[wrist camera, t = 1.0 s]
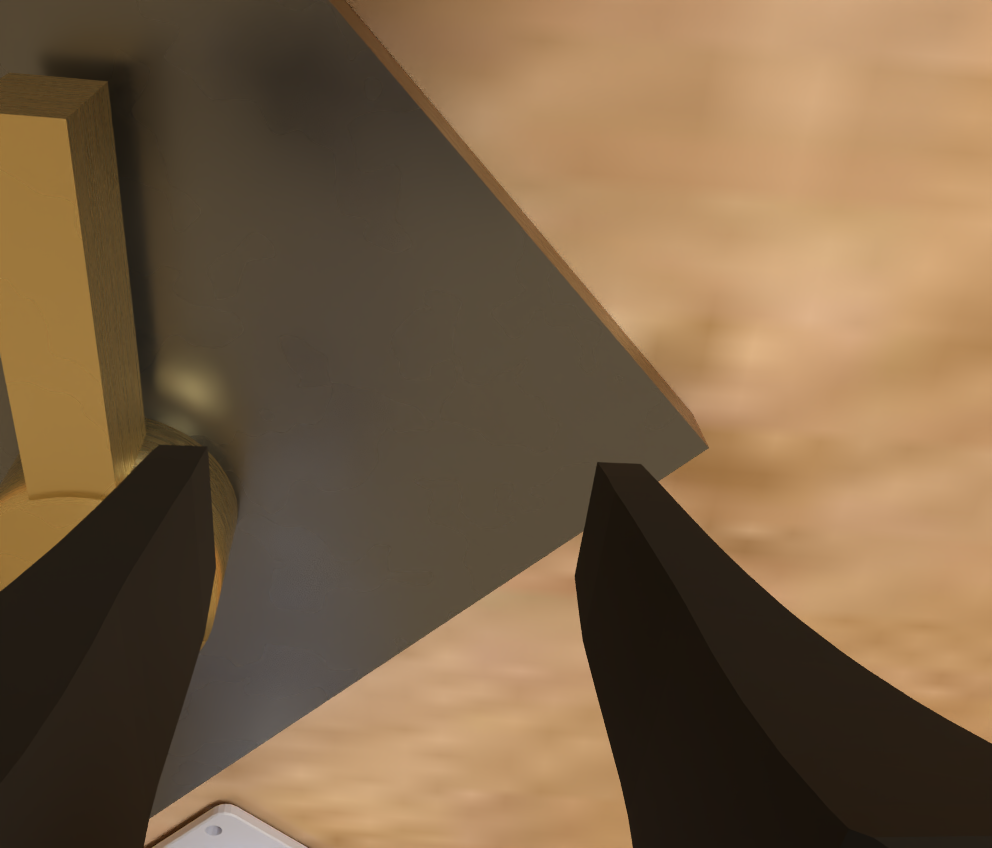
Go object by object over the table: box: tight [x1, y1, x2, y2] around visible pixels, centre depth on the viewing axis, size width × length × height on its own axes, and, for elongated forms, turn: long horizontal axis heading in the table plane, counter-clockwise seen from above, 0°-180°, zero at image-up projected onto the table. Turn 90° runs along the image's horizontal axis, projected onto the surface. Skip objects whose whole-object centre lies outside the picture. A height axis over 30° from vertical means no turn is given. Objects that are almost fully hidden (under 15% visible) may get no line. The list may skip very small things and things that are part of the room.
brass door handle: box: [0, 73, 238, 650], centre depth 18 cm, size 12×5×3 cm, turn 174°
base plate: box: [0, 0, 709, 819], centre depth 21 cm, size 20×20×3 cm
